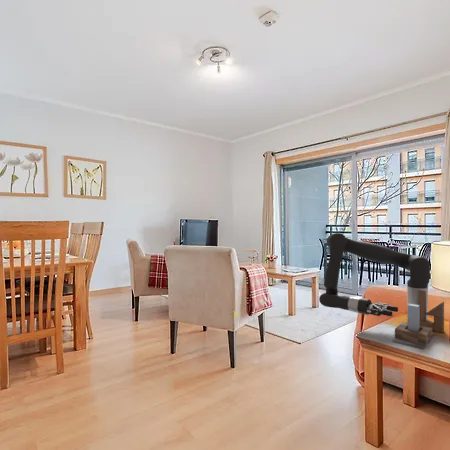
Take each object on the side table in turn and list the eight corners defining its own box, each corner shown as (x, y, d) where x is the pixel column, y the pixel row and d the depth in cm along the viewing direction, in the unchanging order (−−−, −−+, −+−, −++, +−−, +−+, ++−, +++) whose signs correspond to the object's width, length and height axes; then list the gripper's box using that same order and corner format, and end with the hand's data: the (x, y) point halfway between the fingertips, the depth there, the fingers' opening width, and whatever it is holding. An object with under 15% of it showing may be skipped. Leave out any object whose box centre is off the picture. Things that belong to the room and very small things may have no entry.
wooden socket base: (405, 328, 154) (405, 319, 153) (434, 335, 145) (434, 325, 145) (392, 341, 139) (392, 331, 139) (423, 349, 131) (423, 338, 131)
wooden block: (442, 333, 147) (442, 294, 147) (416, 327, 155) (416, 291, 154) (444, 330, 150) (444, 293, 149) (418, 325, 158) (418, 289, 157)
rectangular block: (409, 333, 145) (409, 303, 144) (419, 336, 142) (419, 305, 141) (407, 335, 143) (407, 305, 142) (417, 338, 140) (417, 306, 139)
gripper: (353, 300, 153) (390, 307, 142) (364, 294, 163) (399, 300, 152) (353, 316, 153) (390, 323, 142) (364, 309, 164) (399, 315, 152)
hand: (395, 311), depth 147 cm, fingers open, 8 cm apart
